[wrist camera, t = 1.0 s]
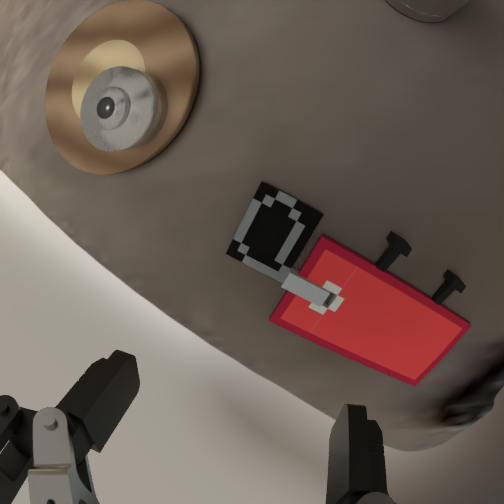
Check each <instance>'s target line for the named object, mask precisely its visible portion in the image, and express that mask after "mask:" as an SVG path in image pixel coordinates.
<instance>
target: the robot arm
mask: <svg viewBox="0 0 504 504" xmlns="http://www.w3.org/2000/svg"><path fill="white" fill-rule="evenodd" d="M386 1H387V2H388V3H389V4H390V5H391V6H392V7H394V8H395V9H396V10H397V11H399V12H401V13H402V14H404V15H406V16H408V17H410V18H413V19H415V20H418V21H422V22H429V23H434V22H440V21H443V20H445V19H447V18H448V17H449V16H450V15H452V14H453V13H454V12H456V11H457V10H458V9H459V8H461V7H462V6H463V5H465V4H466V3H467V2H468V1H470V0H386ZM139 386H140V379H139V374H138V368H137V362H136V358H135V356H134V355H131V354H128V353H125V352H123V351H120V350H115V351H114V352H113V353H112V355H111V356H110V357H109V358H108V359H105V358H102V359H100V360H98V361H96V362H95V363H93V364H91V366H90V367H89V368H88V369H87V370H86V372H85V374H83V375H82V376H81V377H80V379H79V381H77V382H76V383H75V384H74V386H73V387H72V388H71V389H70V391H69V392H68V393H67V394H66V395H65V397H64V398H63V399H62V400H61V401H60V403H59V404H58V405H57V406H56V407H54V408H53V407H47V408H43V409H41V410H40V411H34V410H30V409H26V408H22V407H19V405H18V404H17V402H16V400H15V399H14V398H13V397H11V396H8V395H2V396H0V452H1V450H2V449H3V448H4V446H5V445H6V443H7V442H8V441H9V442H8V443H7V445H6V446H5V448H4V449H3V451H2V452H1V454H0V504H11V503H12V501H13V500H14V498H15V496H16V495H17V493H18V491H19V489H20V488H21V486H22V484H23V483H24V481H25V479H26V478H27V476H28V483H29V493H30V502H31V504H100V503H99V502H98V499H97V497H96V494H95V490H94V486H93V481H92V476H91V471H90V466H89V461H88V456H87V454H88V452H89V451H90V449H93V450H95V451H97V452H99V453H100V452H101V450H102V449H103V447H104V445H105V444H106V442H107V441H108V439H109V438H110V436H111V434H112V433H113V431H114V429H115V428H116V426H117V425H118V423H119V422H120V420H121V419H122V417H123V415H124V414H125V412H126V411H127V409H128V408H129V406H130V404H131V403H132V401H133V400H134V398H135V397H136V395H137V393H138V390H139ZM329 441H330V442H329V462H328V480H327V494H326V504H396V503H395V502H394V501H393V499H392V498H391V497H390V496H389V495H388V492H387V483H386V469H385V459H384V458H385V457H384V446H383V437H382V431H381V429H380V427H379V425H378V424H377V422H376V420H367V411H366V407H365V406H363V405H352V404H345V405H344V406H343V408H342V410H341V412H340V414H339V416H338V418H337V420H336V422H335V423H334V425H333V428H332V431H331V434H330V440H329ZM33 466H34V467H33Z"/></svg>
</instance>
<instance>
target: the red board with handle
mask: <svg viewBox="0 0 504 504" xmlns="http://www.w3.org/2000/svg"><path fill="white" fill-rule="evenodd" d="M322 215H323V214H322V213H320V212H318V211H317V210H315V209H313V208H311V207H309V206H308V205H306V204H304V203H302V202H300V201H298V200H296V199H295V198H293V197H291V196H289V195H287V194H285V193H283V192H281V191H279V190H277V189H276V188H274V187H272V186H270V185H268V184H266V183H264V182H261V184H260V186H259V188H258V190H257V192H256V194H255V196H254V198H253V200H252V202H251V204H250V206H249V208H248V210H247V212H246V214H245V216H244V218H243V220H242V222H241V224H240V226H239V228H238V230H237V232H236V234H235V236H234V238H233V240H232V242H231V244H230V246H229V248H228V250H227V253H226V254H227V255H229V256H231V257H233V258H235V259H237V260H239V261H241V262H243V263H245V264H247V265H249V266H250V267H252V268H254V269H256V270H258V271H260V272H262V273H264V274H266V275H268V276H270V277H272V278H274V279H276V280H278V281H280V282H281V283H282V286H281V287H282V288H284V289H286V290H287V291H286V292H285V294H284V295H283V297H282V298H281V300H280V302H279V303H278V305H277V306H276V308H275V309H274V311H273V312H272V314H271V316H270V318H269V321H271V322H273V323H275V324H277V325H279V326H281V327H283V328H285V329H287V330H289V331H291V332H293V333H296V334H298V335H300V336H302V337H304V338H306V339H308V340H310V341H312V342H315V343H317V344H319V345H321V346H323V347H325V348H328V349H330V350H332V351H334V352H336V353H339V354H341V355H343V356H345V357H348V358H350V359H352V360H354V361H357V362H359V363H361V364H363V365H366V366H368V367H370V368H373V369H375V370H377V371H380V372H382V373H384V374H387V375H389V376H392V377H394V378H396V379H399V380H401V381H404V382H406V383H409V384H411V385H414V386H415V385H417V384H418V383H419V382H420V381H421V380H422V379H423V378H424V377H425V376H426V375H427V374H428V373H429V372H430V371H431V370H432V369H433V368H434V367H435V366H436V365H437V364H438V363H439V361H440V360H441V359H442V358H443V357H444V356H445V355H446V354H447V353H448V352H449V351H450V350H451V348H452V347H453V346H454V345H455V344H456V343H457V342H458V341H459V339H460V338H461V337H462V336H463V335H464V334H465V332H466V331H467V330H468V329H469V328H470V326H471V324H470V323H469V322H468V321H467V320H465V319H464V318H462V317H461V316H459V315H458V314H456V313H455V312H453V311H452V310H450V309H448V308H447V307H445V306H444V305H442V304H441V303H442V302H443V301H444V300H445V299H446V298H447V297H448V296H449V295H450V294H451V293H452V292H453V291H454V290H455V289H456V290H457V291H459V292H460V293H462V291H463V290H464V289H465V287H466V286H465V284H464V283H463V282H462V281H461V280H460V278H459V277H458V276H457V275H455V274H454V273H452V272H451V271H450V270H448V269H447V271H446V272H445V273H444V275H443V277H444V278H445V279H446V281H447V282H446V283H445V284H444V285H443V286H442V287H441V288H440V289H439V290H438V291H437V292H436V293H435V294H434V295H433V296H432V297H430V296H428V295H426V294H425V293H423V292H422V291H420V290H418V289H417V288H415V287H413V286H412V285H410V284H408V283H407V282H405V281H404V280H402V279H400V278H399V277H397V276H395V275H393V274H392V273H390V272H388V271H387V270H386V269H387V268H388V267H389V266H390V265H391V264H392V263H393V262H394V260H395V259H396V258H397V257H398V256H399V255H400V253H401V254H403V255H404V256H406V257H407V256H408V255H409V253H410V252H411V250H412V248H411V247H410V246H409V244H408V243H407V242H406V241H405V240H404V239H403V238H401V237H400V236H398V235H397V234H395V233H393V232H392V231H391V232H390V234H389V235H388V237H387V238H386V239H387V241H388V242H389V244H390V245H391V246H390V247H389V248H388V250H387V251H386V252H385V253H384V254H383V255H382V257H381V258H380V259H379V260H378V261H377V262H376V264H375V263H373V262H371V261H370V260H368V259H366V258H364V257H363V256H361V255H359V254H357V253H356V252H354V251H352V250H350V249H349V248H347V247H345V246H343V245H342V244H340V243H338V242H336V241H334V240H333V239H331V238H329V237H327V236H325V235H324V234H321V236H320V237H319V239H318V241H317V242H316V244H315V246H314V247H313V249H312V251H311V252H310V254H309V255H308V257H307V259H306V260H305V262H304V264H303V265H302V267H301V268H300V270H297V269H295V268H293V267H292V266H293V264H294V262H295V261H296V259H297V258H298V256H299V254H300V253H301V251H302V249H303V248H304V246H305V244H306V243H307V241H308V239H309V238H310V236H311V234H312V232H313V231H314V229H315V227H316V226H317V224H318V222H319V221H320V219H321V217H322ZM330 292H332V293H334V295H333V297H332V298H331V300H330V301H329V303H328V304H327V303H325V302H324V301H325V300H326V299H327V297H328V296H329V294H330Z"/></svg>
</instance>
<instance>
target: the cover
mask: <svg viewBox="0 0 504 504" xmlns="http://www.w3.org/2000/svg"><path fill="white" fill-rule="evenodd" d="M167 112H168V98H167V93H166V90H165V88H164V86H163V85H162V83H161V82H160V81H159V80H158V79H157V78H156V77H155V76H153V75H152V74H149V73H146V72H143V71H140V70H137V69H133V68H130V67H125V66H117V67H112V68H109V69H107V70H105V71H103V72H102V73H100V74H99V75H98V76H97V77H96V78H95V79H94V80H93V81H92V82H91V84H90V85H89V87H88V88H87V90H86V92H85V94H84V97H83V100H82V103H81V109H80V120H81V126H82V129H83V132H84V134H85V136H86V138H87V139H88V141H89V142H90V143H91V144H92V145H93V146H95V147H96V148H98V149H100V150H103V151H118V150H125V149H133V148H138V147H141V146H143V145H146V144H147V143H149V142H150V141H151V140H152V139H154V138H155V137H156V135H157V134H158V133H159V132H160V130H161V128H162V127H163V125H164V122H165V120H166V116H167Z"/></svg>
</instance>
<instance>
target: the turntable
mask: <svg viewBox="0 0 504 504" xmlns="http://www.w3.org/2000/svg"><path fill="white" fill-rule="evenodd" d="M117 66H125V67H130V68H133V69H137V70H140V71H143V72H146V73H149V74H152V75H153V76H155V77H156V78H157V79H158V80H159V81H160V82H161V83H162V85H163V86H164V88H165V90H166V93H167V98H168V112H167V116H166V120H165V122H164V125H163V127H162V128H161V130H160V132H159V133H158V134H157V135H156V137H155V138H154V139H152V140H151V141H150V142H149V143H147V144H146V145H143V146H141V147H138V148H133V149H125V150H118V151H103V150H100V149H98V148H96V147H95V146H93V145H92V144H91V143H90V142H89V141H88V139H87V138H86V136H85V134H84V132H83V129H82V126H81V120H80V109H81V103H82V100H83V97H84V94H85V92H86V90H87V88H88V87H89V85H90V84H91V82H92V81H93V80H94V79H95V78H96V77H97V76H98V75H99V74H100V73H102V72H103V71H105V70H107V69H109V68H112V67H117ZM199 72H200V69H199V56H198V50H197V46H196V44H195V41H194V38H193V36H192V34H191V32H190V31H189V29H188V28H187V26H186V25H185V24H184V23H183V21H182V20H180V19H179V18H178V17H177V16H176V15H175V14H173V13H172V12H171V11H169V10H168V9H166V8H165V7H163V6H161V5H159V4H156V3H153V2H150V1H144V0H129V1H122V2H118V3H115V4H112V5H109V6H107V7H105V8H103V9H101V10H99V11H97V12H95V13H94V14H92V15H91V16H90V17H88V18H87V19H86V20H84V21H83V22H82V23H81V24H80V25H79V26H78V27H77V28H76V29H75V30H74V31H73V32H72V33H71V35H70V36H69V37H68V38H67V40H66V41H65V42H64V44H63V46H62V47H61V49H60V51H59V52H58V54H57V56H56V58H55V60H54V63H53V65H52V68H51V71H50V74H49V78H48V81H47V87H46V94H45V114H46V121H47V126H48V130H49V133H50V135H51V138H52V140H53V142H54V144H55V146H56V148H57V149H58V151H59V152H60V154H61V155H62V156H63V157H64V158H65V159H66V160H67V161H68V162H69V163H71V164H72V165H73V166H75V167H77V168H78V169H80V170H83V171H85V172H88V173H93V174H113V173H118V172H122V171H126V170H130V169H133V168H136V167H138V166H140V165H142V164H144V163H146V162H148V161H149V160H151V159H152V158H154V157H155V156H156V155H158V154H159V153H160V152H161V151H163V150H164V149H165V147H166V146H167V145H168V144H169V143H170V142H171V141H172V140H173V139H174V137H175V136H176V135H177V133H178V132H179V131H180V129H181V128H182V126H183V124H184V123H185V121H186V119H187V117H188V115H189V113H190V111H191V108H192V105H193V103H194V100H195V97H196V93H197V88H198V83H199Z"/></svg>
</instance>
